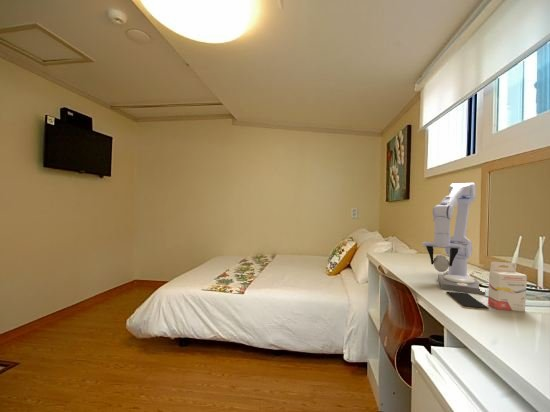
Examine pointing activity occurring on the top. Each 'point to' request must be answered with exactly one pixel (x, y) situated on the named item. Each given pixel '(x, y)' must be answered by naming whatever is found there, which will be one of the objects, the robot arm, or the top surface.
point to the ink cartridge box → (506, 287)
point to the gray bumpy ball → (441, 263)
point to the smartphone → (467, 301)
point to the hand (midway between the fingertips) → (441, 264)
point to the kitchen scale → (459, 283)
